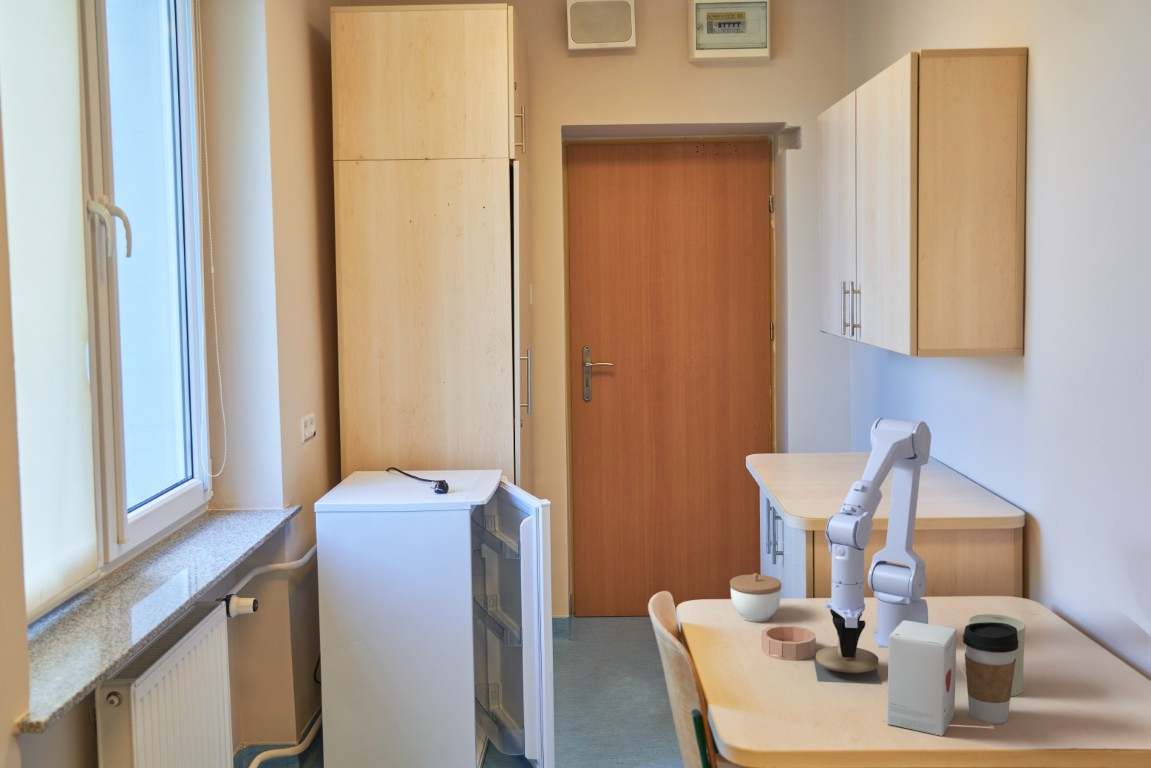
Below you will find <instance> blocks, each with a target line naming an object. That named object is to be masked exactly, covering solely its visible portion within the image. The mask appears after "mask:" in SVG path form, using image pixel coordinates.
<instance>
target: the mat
mask: <svg viewBox="0 0 1151 768" xmlns="http://www.w3.org/2000/svg"><path fill="white" fill-rule="evenodd" d="M813 662H814V669H815V674H816V681H817V682H821V683H822V682H823V683H824V682H825V683H845V684H865V685H882V681H881V678H880V674H879V672H878V671H879V670H878V669H877V668H878V667H876V668H875V669H873V670H870V671H867V672H859V673H849V672H840V671H835V670H831V669H828V668H825V667H823V666H821V665H820V664H818V663H817V661H816V657H815V658H813Z"/></svg>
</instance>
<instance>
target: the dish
mask: <svg viewBox="0 0 1151 768" xmlns="http://www.w3.org/2000/svg"><path fill="white" fill-rule="evenodd" d="M815 633H816V632H815V631H812V630H810V629H808V628H806V627H801V626H797V625H787V624H785V625H784V624H781V625H780V624H779V625H773V626H768V627H767V628H765V629H762V630H761V651H762V653H763V654H764V655H766V656H767V657H770V658H772V659H775V660H780V661H804V660H809V659H811V658H812V657H814V656H815V655H816V652H817V651H816V650H817V649H816V646H817V645H816V640H817V639H816V638H817V637H816V634H815Z"/></svg>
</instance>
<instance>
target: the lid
mask: <svg viewBox="0 0 1151 768" xmlns="http://www.w3.org/2000/svg"><path fill="white" fill-rule="evenodd" d="M815 658H816V661H817V663H818V664H820V665H821V666H823V667H825V668H828V669H831V670H835V671H840V672H849V673H859V672H867V671H870V670H873V669H875V668H878V666H879V657H878V656H877V654H875V653H874V652H872V651H870V650H867V649H864V648H861V647H857V649H856V653H855V656H854V658H848V657H842V654H841V649H840V642H839V636H838V635H837V646H836V645H835V646H827V647H823V648H821V649H818V650H817V651H816V652H815Z"/></svg>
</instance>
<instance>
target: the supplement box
mask: <svg viewBox="0 0 1151 768" xmlns="http://www.w3.org/2000/svg"><path fill="white" fill-rule="evenodd" d="M957 631H958V630H957V628H954V627H949V626H944V625H943V626H942V625H935V624H929V623H928V624H924V623H918V622H913V621H906V620H904V621H902V622H901V624H900V625H899V626H897V627H896V628H895V630H894V631H893V632H892V633H891V635H890V636H889V648H888V666H887V667H888V670H887V671H888V672H887V673H888V674H887V675H888V676H887V703H886V704H887V705H886V706H887V707H886V708H887V709H886V724H887V725H891V726H894V727H900V728H905V729H909V730H914V731H918V732H923V733H927V734H932V735H936V736H940V737H942V736H943V735H944V734H945V733H946V731H947V730H948V728H949V726H950V724H951V721H952V720H953V718H954V717H955V707H956V705H955V704H956V703H955V701H956V700H955V699H956V672H957V671H956V669H957V667H956V665H957V664H956V663H957V634H958V633H957Z"/></svg>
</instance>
